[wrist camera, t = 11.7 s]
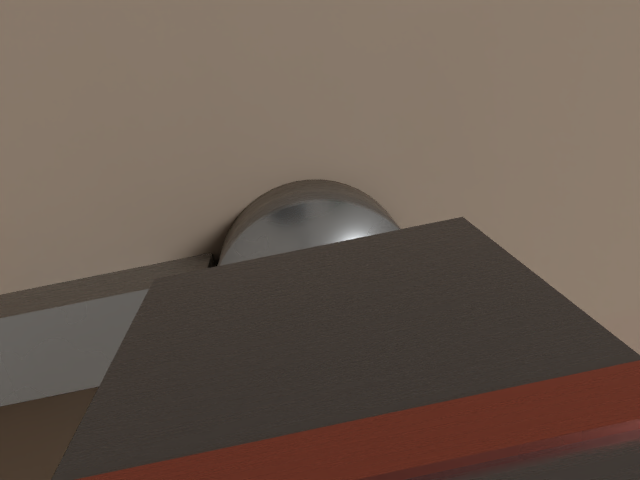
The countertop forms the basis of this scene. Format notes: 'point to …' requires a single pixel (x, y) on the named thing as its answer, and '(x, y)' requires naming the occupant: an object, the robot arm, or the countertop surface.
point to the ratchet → (133, 284)
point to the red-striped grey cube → (364, 372)
